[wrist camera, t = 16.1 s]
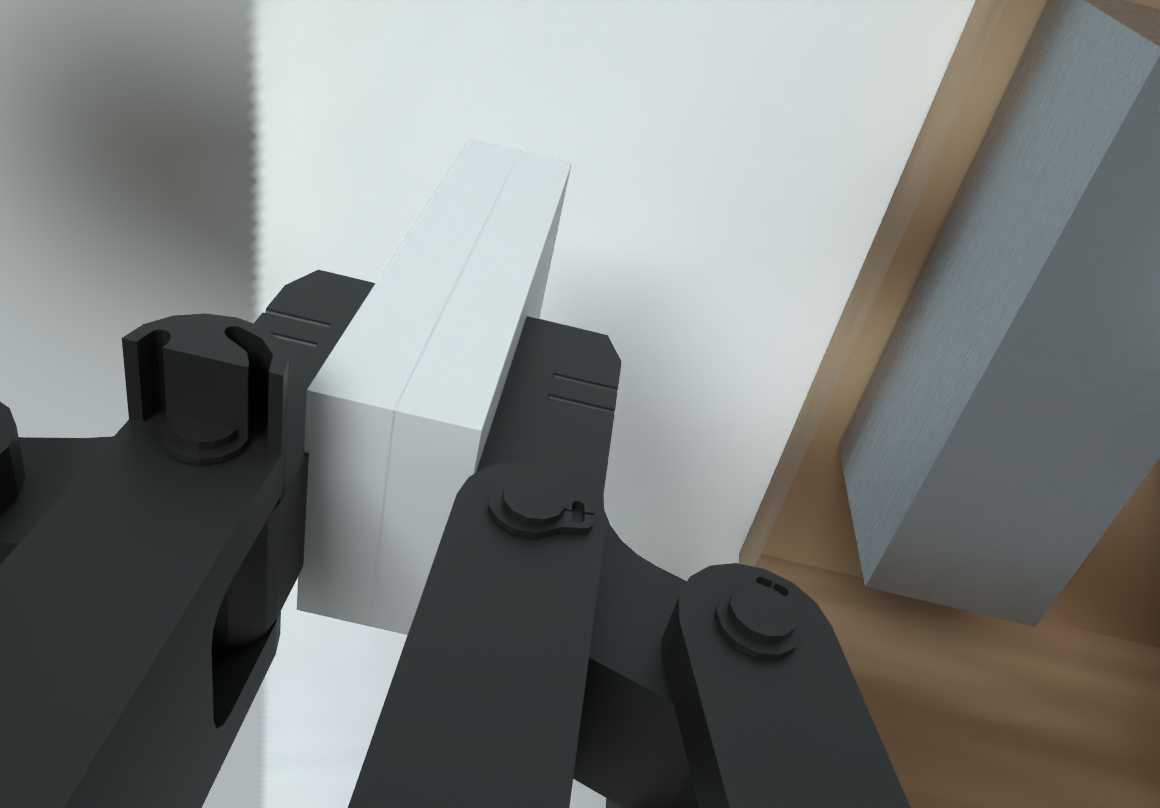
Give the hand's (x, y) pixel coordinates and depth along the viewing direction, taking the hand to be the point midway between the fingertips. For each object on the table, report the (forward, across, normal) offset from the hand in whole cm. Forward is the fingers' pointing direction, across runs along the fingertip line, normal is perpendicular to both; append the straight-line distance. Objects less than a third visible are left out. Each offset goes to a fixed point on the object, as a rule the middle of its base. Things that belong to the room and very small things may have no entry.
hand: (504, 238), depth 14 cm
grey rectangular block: (+3, +9, 0) cm, 9 cm away
